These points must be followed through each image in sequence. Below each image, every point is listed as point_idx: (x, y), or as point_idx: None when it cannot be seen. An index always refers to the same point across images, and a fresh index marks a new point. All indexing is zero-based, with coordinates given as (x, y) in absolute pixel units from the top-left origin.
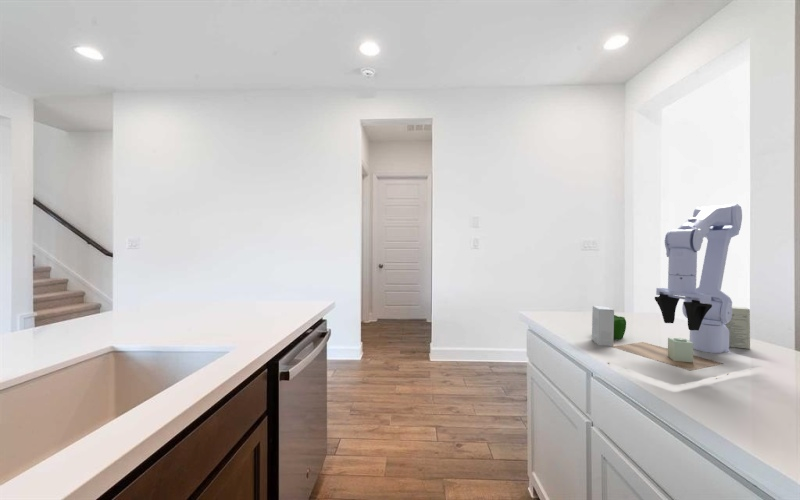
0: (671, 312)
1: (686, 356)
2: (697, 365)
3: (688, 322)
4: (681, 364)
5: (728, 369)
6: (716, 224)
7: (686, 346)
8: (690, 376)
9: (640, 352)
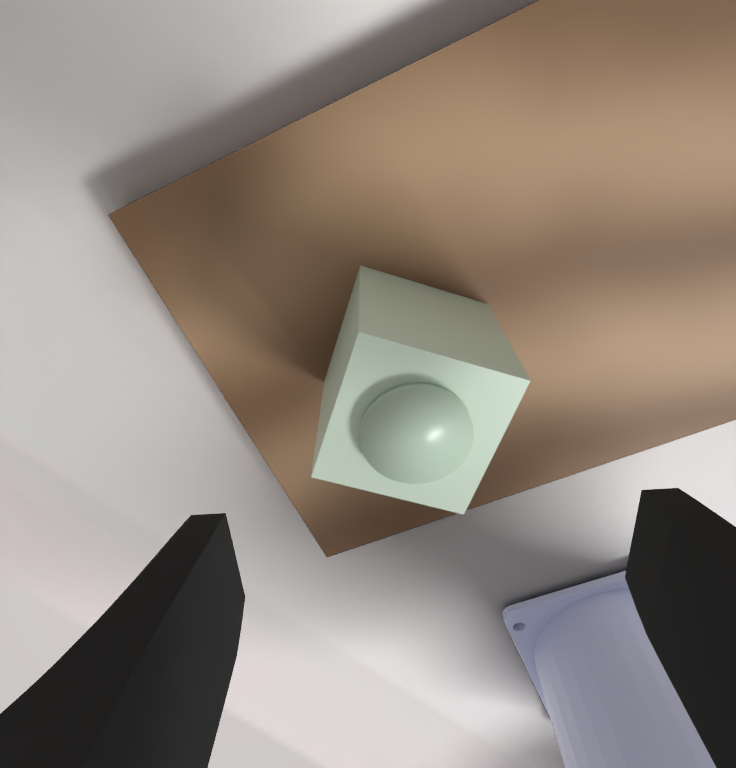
0: (728, 716)
1: (332, 364)
2: (252, 364)
3: (167, 582)
4: (257, 253)
5: (308, 543)
6: None
7: (329, 408)
8: (103, 193)
9: (603, 94)
